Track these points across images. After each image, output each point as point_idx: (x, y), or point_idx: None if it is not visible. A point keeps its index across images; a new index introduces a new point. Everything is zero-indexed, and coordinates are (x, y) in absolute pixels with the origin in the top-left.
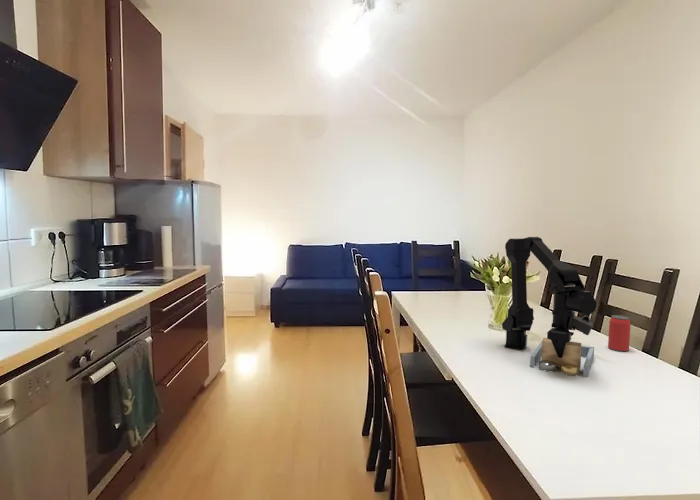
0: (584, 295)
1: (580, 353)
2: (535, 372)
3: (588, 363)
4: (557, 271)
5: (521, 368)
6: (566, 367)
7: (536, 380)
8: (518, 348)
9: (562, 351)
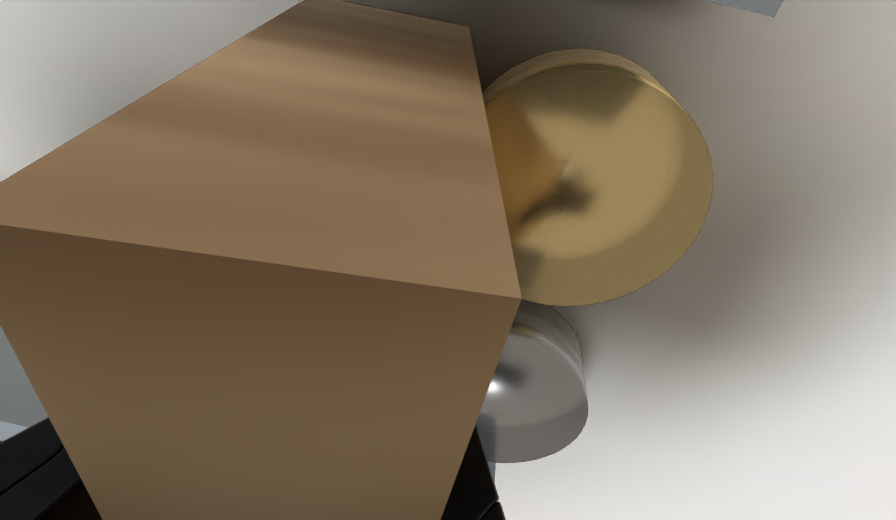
0: None
1: (350, 95)
2: (637, 443)
3: None
4: None
5: (556, 498)
6: (633, 259)
7: (869, 467)
8: None
9: (476, 450)
